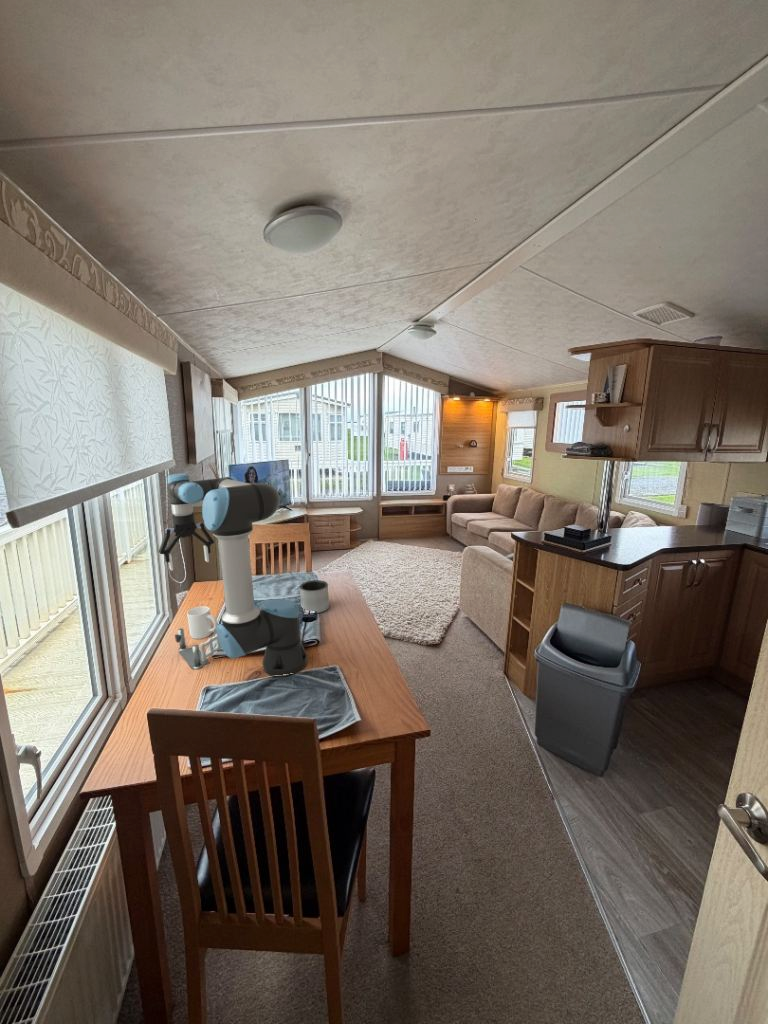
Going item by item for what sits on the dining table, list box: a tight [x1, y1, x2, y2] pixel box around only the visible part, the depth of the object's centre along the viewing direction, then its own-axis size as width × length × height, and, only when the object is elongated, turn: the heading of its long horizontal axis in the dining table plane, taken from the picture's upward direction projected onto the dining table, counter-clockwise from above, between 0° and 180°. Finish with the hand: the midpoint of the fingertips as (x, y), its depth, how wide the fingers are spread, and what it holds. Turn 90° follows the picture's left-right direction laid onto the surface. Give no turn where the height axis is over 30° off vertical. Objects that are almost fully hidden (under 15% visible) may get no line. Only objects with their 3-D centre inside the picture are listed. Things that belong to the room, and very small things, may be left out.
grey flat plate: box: [178, 646, 211, 670], centre depth 153 cm, size 15×6×1 cm, turn 42°
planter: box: [299, 579, 330, 614], centre depth 189 cm, size 12×13×11 cm
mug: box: [186, 605, 218, 640], centre depth 168 cm, size 12×8×10 cm
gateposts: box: [174, 627, 204, 670], centre depth 152 cm, size 19×4×8 cm, turn 42°
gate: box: [199, 633, 222, 661], centre depth 154 cm, size 12×1×7 cm, turn 157°
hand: (189, 565), depth 168 cm, fingers open, 13 cm apart
